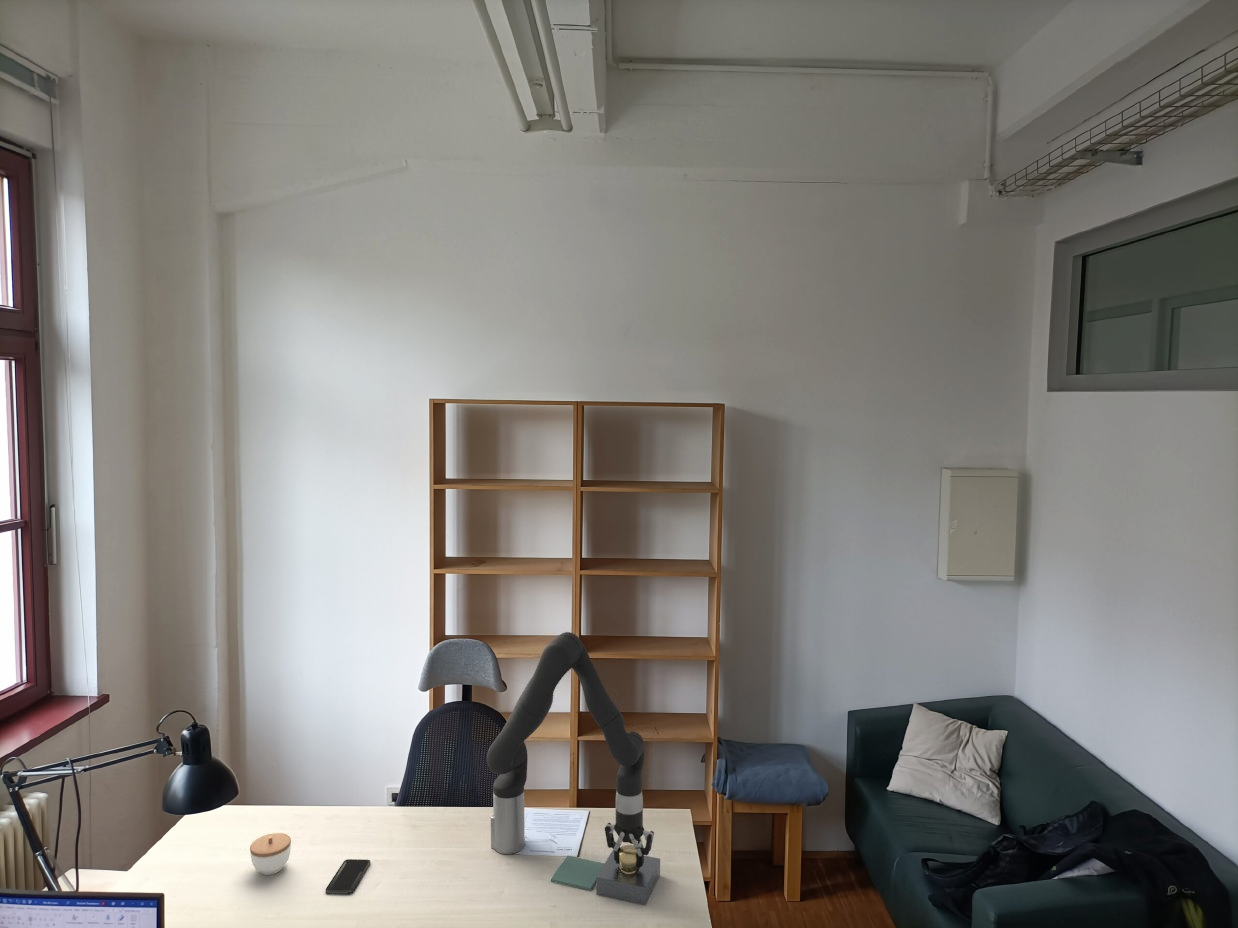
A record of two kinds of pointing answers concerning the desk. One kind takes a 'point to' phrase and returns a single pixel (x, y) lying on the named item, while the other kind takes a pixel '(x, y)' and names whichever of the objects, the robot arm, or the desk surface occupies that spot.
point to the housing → (628, 881)
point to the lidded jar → (270, 852)
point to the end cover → (628, 859)
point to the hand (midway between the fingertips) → (629, 863)
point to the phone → (348, 877)
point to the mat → (577, 873)
